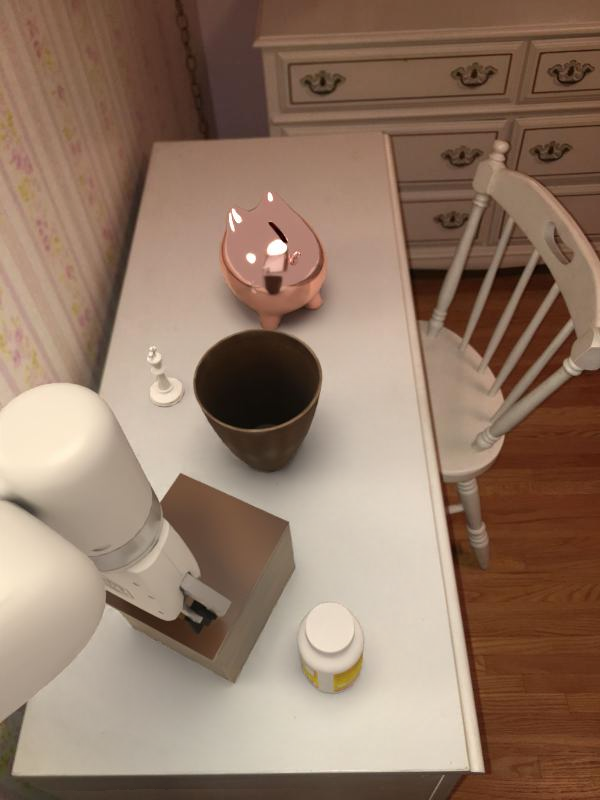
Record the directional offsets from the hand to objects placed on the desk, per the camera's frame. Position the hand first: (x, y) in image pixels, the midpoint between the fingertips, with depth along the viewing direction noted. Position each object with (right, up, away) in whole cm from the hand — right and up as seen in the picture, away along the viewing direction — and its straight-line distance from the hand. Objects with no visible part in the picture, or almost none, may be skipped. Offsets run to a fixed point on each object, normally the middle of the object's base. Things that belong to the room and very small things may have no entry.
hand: (160, 594), depth 60 cm
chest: (+3, -5, +15) cm, 16 cm away
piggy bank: (+9, +35, +44) cm, 57 cm away
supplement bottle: (+17, -11, +10) cm, 22 cm away
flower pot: (+9, +12, +27) cm, 31 cm away
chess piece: (-6, +19, +33) cm, 39 cm away
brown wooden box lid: (+2, +2, +5) cm, 6 cm away
